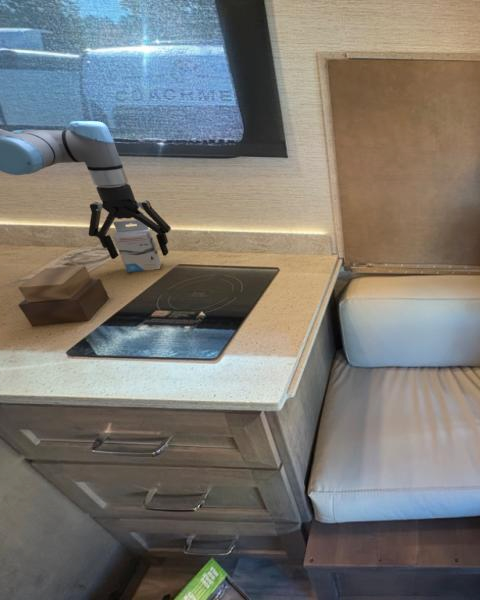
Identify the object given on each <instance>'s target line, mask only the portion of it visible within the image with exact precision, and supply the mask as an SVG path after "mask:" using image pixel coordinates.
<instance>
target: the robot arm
mask: <svg viewBox="0 0 480 600" xmlns="http://www.w3.org/2000/svg"><path fill="white" fill-rule="evenodd" d="M68 126H69V129H67V130H65V129H64V130H59V129H58V130H56V129H55V130H53V129H29V128H28V129H16V130H11V131H8V130H5V129H3V128H0V172H2V173H4V174H7V175H11V176H23V175H31V174H35V173H37V172H39V171H40V170H42V169H45V168H48V167H51V166H53V165H56V164H57V165H58V164H66V163H67V164H68V163H84V164H85V166H86V168H87V170H88V173H89V175H90V177H91V180H92V183H93V185H95V186H96V187H95V189H96V191H97V194H98V197H99V198H100V200H101V203H99V202H97V201H95V202H92V203H90V204H89V209H90V212H91V215H90V222H89V227H88V236H89V237H96V238H97V239H99V241H100V243H101V246H102V247H103V248H104V249H106V250H107V252H108V254H109V256H110V259H111V260H115V259H116V258H117V257H119V253H118V249H117V247H116V245H115V244H114V241H113V239H112V237H111V234H110V235H109V234H108V232H109V230H110V228H111V227H112V225H113V224H114V223H113V222H115V219H117V220H123V219H127V220H128V219H129V220H130V219H132V218H133V220H139V221H140V222H142V223H143V224H144V225H146V226H147V227H148V228H149V229H150V230H152V231H153V232H155V233H156V235H155V237H156V240H157V242H158V245H159V249H160V251H161V253H162V256H167V255H168V254H169V250H168V246H167V245H168V244H169V239H168V237H167V233H169V232H170V231H171V230H172V227H171V226H170V225H169V224H168V223H167V221H165V219H164V218H162V217H161V215H160V214H159V213H158V212H157V211H156V210H155V209H154V208H153V207H152V205H151V203H150V201H149V200H144V201H140V202H138V201H137V200H136V198H135V194H134V192H133V190H132V188H131V185H130V184H129V179H128V176H127V174H126V171H125V169H124V166H123V163H122V160H121V158H120V155H119V153H118V150H117V147H116V144H115V140H114V139H113V136H112V134H111V132H110V130H109V128H108V126H107V125H106V124H105V122H102V121H97V120H96V121H94V120H93V121H91V120H86V121H85V120H84V121H83V120H82V121H81V120H80V121H70V122H69V123H68ZM139 208H140V209H141V210H143V211H144V212H145V213H146V215H147V216H146V215H145V214H144V213H143V212H142V211H140V210H139ZM103 210H104V211H106V212H108V213H107V216H106V218H105V220H104V221H103V224H102V226H101V227H100V220H101V214H102V211H103ZM148 216H149V217H150V218H151V219H150V218H149V217H148ZM99 228H100V229H99Z"/></svg>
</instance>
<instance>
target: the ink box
mask: <svg viewBox="0 0 480 600" xmlns="http://www.w3.org/2000/svg"><path fill="white" fill-rule="evenodd" d="M112 224H113V226H114V228H115V230H116V232H115V233H114V235H113V236H112V238H113V240H114V242H115V246H116V249H117V251H118V252H119V253H118V254H119V255H120V257H121V260H122V262H123V264H124V267H125V269H126V271H127V273H136V272H137V273H138V272H144V271H145V272H146V271H154V270H160V269H161V266H162V259H161V257H160V254H159V252H158V249H157V246H156V243H155V240H154V238H153V235H152V231H151V229H150V228H149V227H147V226H146V225H144V224H143V223H142V222H140V221H139V220H136V219H131V220H130V219H129V220H120V221H119V220H118V221H115V220H114V221H113V223H112ZM130 224H132V225H130ZM126 225H127V226H126ZM128 225H129V226H128Z"/></svg>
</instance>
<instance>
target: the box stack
mask: <svg viewBox="0 0 480 600" xmlns="http://www.w3.org/2000/svg"><path fill="white" fill-rule="evenodd" d="M17 288H18V289H19V291H20V293H21V294H22V296H23V298H24V299H23V300H22V301H21V302H20V303H18V308H19V309H20V310H21V312H22V313H23V314H24V317H26V319H27V320H28V322H29V324H30V325H31V327H39V326H49V325H59V324H70V323H80V322H89V321H90V320H92V318H93V316H95V315H96V314H97V312H98V311H99V310H100V309H101V308H102V307H103V306H104V305H105V304H106V303H107V301H108V300H109V299H110V297H109V294H108V292H107V290H106V288H105V286H104V284H103V281H102V280H101V278H100V277H99V278H92V277H91V275H90V273H89V271H88V268H87V267H86V265H75V266H74V265H73V266H58V267H46V268H43V270H41V271H39V272H38V273H37V274H35V275H34V276H32V277H31V278H30V279H28V280H27V281H25V282H23V283H22V284H21V285H20V286H18V287H17Z"/></svg>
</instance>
